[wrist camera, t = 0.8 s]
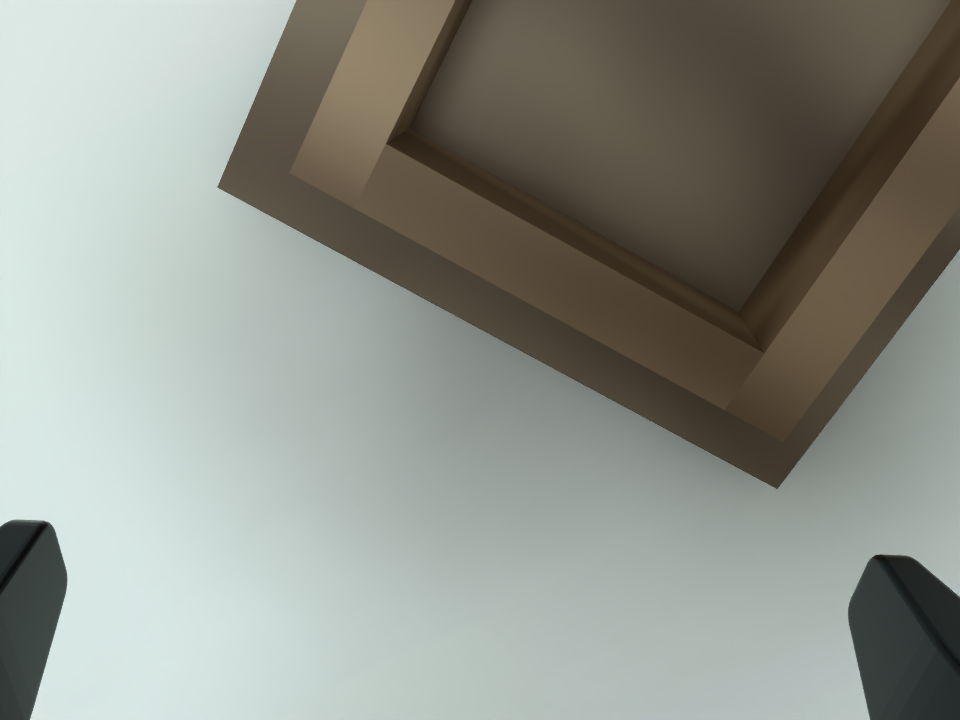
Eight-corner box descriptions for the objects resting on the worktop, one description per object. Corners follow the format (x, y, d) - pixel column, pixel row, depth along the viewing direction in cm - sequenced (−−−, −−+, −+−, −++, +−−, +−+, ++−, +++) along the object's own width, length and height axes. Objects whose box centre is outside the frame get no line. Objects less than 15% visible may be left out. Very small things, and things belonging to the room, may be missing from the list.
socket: (769, 471, 24) (806, 551, 21) (231, 180, 23) (166, 210, 19) (1212, -121, 19) (1373, -158, 15) (544, -551, 17) (540, -709, 14)
